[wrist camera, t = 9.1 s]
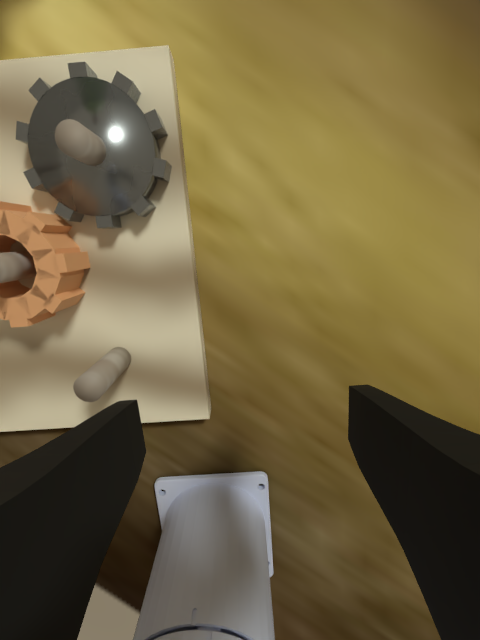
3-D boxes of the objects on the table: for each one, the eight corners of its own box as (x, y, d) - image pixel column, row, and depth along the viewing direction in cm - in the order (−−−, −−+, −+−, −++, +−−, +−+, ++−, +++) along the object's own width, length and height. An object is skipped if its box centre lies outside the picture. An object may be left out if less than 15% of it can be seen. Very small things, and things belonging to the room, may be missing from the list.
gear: (178, 223, 17) (174, 222, 16) (51, 233, 17) (36, 232, 16) (160, 69, 15) (153, 55, 14) (18, 82, 15) (-1, 69, 14)
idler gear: (99, 312, 18) (78, 322, 16) (-3, 319, 18) (-38, 330, 16) (78, 202, 16) (51, 196, 14) (-33, 211, 17) (-77, 206, 14)
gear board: (211, 408, 21) (201, 462, 16) (-50, 425, 21) (-140, 482, 16) (173, 59, 16) (142, -24, 11) (-168, 89, 16) (-351, 22, 11)
